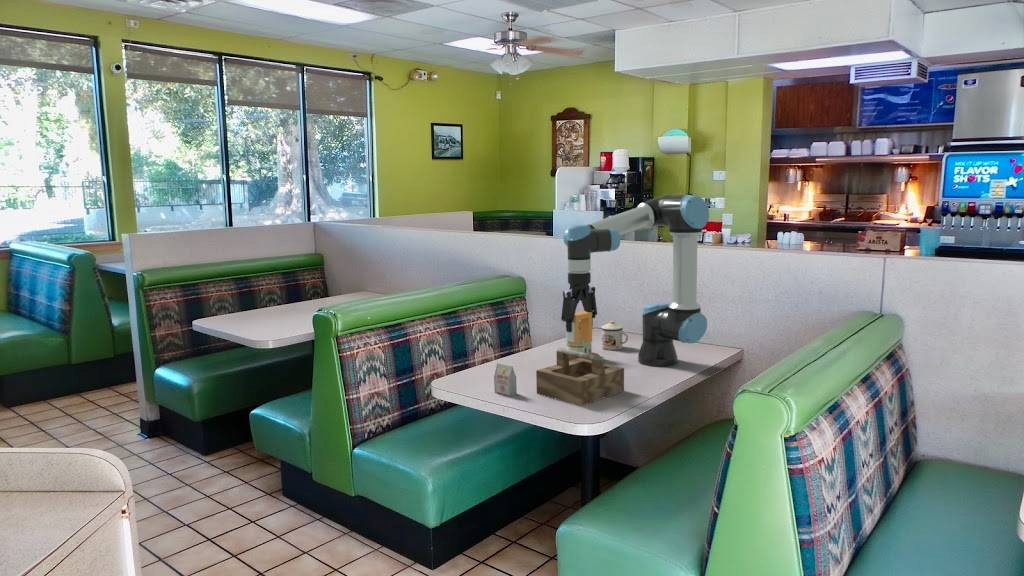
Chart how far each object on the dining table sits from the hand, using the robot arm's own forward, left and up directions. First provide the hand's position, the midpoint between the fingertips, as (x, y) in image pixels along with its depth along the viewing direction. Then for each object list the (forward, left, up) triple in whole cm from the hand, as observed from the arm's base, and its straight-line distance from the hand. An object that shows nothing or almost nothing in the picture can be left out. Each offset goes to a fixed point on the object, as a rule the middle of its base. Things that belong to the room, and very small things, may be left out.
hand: (579, 338), depth 236 cm
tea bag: (+18, -18, -19) cm, 32 cm away
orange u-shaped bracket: (0, 0, -1) cm, 1 cm away
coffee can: (-33, -30, -19) cm, 48 cm away
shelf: (0, 0, -19) cm, 19 cm away
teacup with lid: (-56, -30, -19) cm, 66 cm away
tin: (-16, -13, -19) cm, 28 cm away
